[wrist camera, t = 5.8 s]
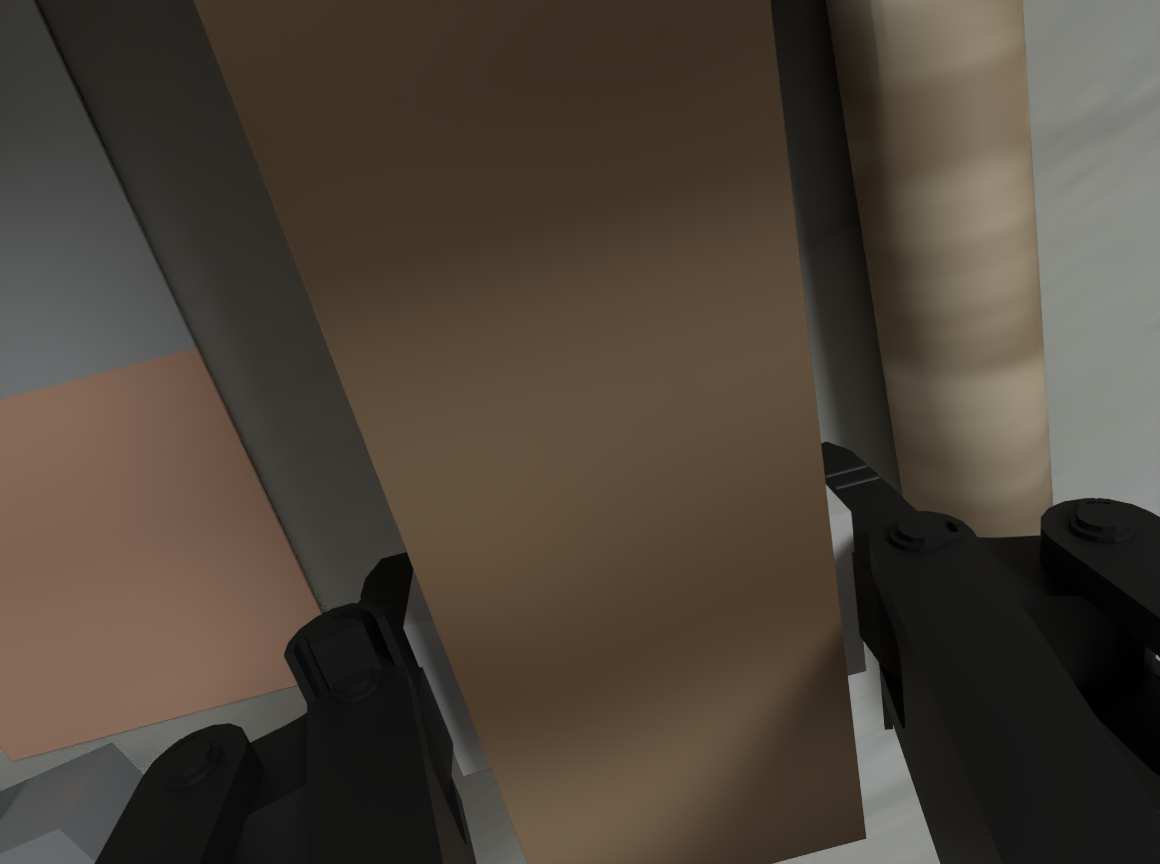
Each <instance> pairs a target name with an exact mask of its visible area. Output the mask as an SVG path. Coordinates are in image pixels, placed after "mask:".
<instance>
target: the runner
mask: <svg viewBox="0 0 1160 864" xmlns="http://www.w3.org/2000/svg"><path fill="white" fill-rule="evenodd" d="M321 614H323V613H322V611H321V609H320V607H319V605H318V602H317V600H316V598H315V596H314V594H313V592H312V590H311V588H310V585H309V583H308V581H307V579H306V577H305V575H304V573H303V570H302V568H301V566H300V564H299V562H298V560H297V558H296V556H295V553H294V551H293V549H292V547H291V545H290V543H289V541H288V538H287V536H286V534H285V532H284V530H283V528H282V526H281V523H280V521H279V519H278V517H277V515H276V513H275V511H274V509H273V506H272V504H271V502H270V500H269V498H268V496H267V494H266V491H265V489H264V487H263V485H262V483H261V481H260V479H259V477H258V474H257V472H256V470H255V468H254V466H253V464H252V462H251V459H250V457H249V455H248V453H247V451H246V449H245V447H244V444H243V442H242V440H241V438H240V436H239V434H238V432H237V430H236V427H235V425H234V423H233V421H232V419H231V417H230V415H229V412H228V410H227V408H226V406H225V404H224V402H223V400H222V398H221V395H220V393H219V391H218V389H217V387H216V385H215V383H214V380H213V378H212V376H211V374H210V372H209V370H208V368H207V366H206V363H205V361H204V359H203V357H202V355H201V353H200V351H199V348H198V346H197V344H196V342H195V340H194V338H193V336H192V333H191V331H190V329H189V327H188V325H187V323H186V321H185V319H184V316H183V314H182V312H181V310H180V308H179V306H178V304H177V301H176V299H175V297H174V295H173V293H172V291H171V289H170V287H169V284H168V282H167V280H166V278H165V276H164V274H163V272H162V269H161V267H160V265H159V263H158V261H157V259H156V257H155V254H154V252H153V250H152V248H151V246H150V244H149V242H148V240H147V237H146V235H145V233H144V231H143V229H142V227H141V225H140V222H139V220H138V218H137V216H136V214H135V212H134V210H133V208H132V205H131V203H130V201H129V199H128V197H127V195H126V193H125V190H124V188H123V186H122V184H121V182H120V180H119V178H118V175H117V173H116V171H115V169H114V167H113V165H112V163H111V161H110V158H109V156H108V154H107V152H106V150H105V148H104V146H103V143H102V141H101V139H100V137H99V135H98V133H97V131H96V129H95V126H94V124H93V122H92V120H91V118H90V116H89V114H88V111H87V109H86V107H85V105H84V103H83V101H82V99H81V96H80V94H79V92H78V90H77V88H76V86H75V84H74V82H73V79H72V77H71V75H70V73H69V71H68V69H67V67H66V64H65V62H64V60H63V58H62V56H61V54H60V52H59V50H58V47H57V45H56V43H55V41H54V39H53V37H52V35H51V32H50V30H49V28H48V26H47V24H46V22H45V20H44V17H43V15H42V13H41V11H40V9H39V7H38V5H37V3H36V0H0V747H1V748H2V749H3V751H4V752H5V753H6V755H7V756H8V757H9V759H10V760H11V761H16V760H20V759H23V758H27V757H31V756H35V755H38V754H42V753H46V752H50V751H53V750H57V749H61V748H65V747H68V746H72V745H76V744H79V743H83V742H87V741H91V740H94V739H98V738H102V737H106V736H109V735H113V734H117V733H121V732H124V731H128V730H132V729H136V728H139V727H143V726H147V725H151V724H154V723H158V722H162V721H165V720H169V719H173V718H177V717H180V716H184V715H188V714H192V713H195V712H199V711H203V710H207V709H210V708H214V707H218V706H222V705H225V704H229V703H233V702H237V701H240V700H244V699H248V698H252V697H255V696H259V695H263V694H266V693H270V692H274V691H278V690H281V689H285V688H289V687H293V686H296V685H298V684H297V682H296V680H295V678H294V676H293V674H292V672H291V670H290V668H289V666H288V664H287V662H286V660H285V658H284V656H283V655H284V653H285V650H286V647H287V644H288V642H289V641H290V640H291V639H292V637H293V636H294V635H295V634H296V633H297V631H298V630H299V629H300V628H302V627H303V626H304V625H306V624H307V623H308V622H310V621H311V620H312V619H314V618H315V617H317V616H319V615H321Z"/></svg>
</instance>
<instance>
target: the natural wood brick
mask: <svg viewBox="0 0 1160 864" xmlns="http://www.w3.org/2000/svg"><path fill="white" fill-rule="evenodd" d="M194 3H195V6H196V8H197V11H198V13H199V16H200V18H201V21H202V24H203V26H204V29H205V31H206V34H207V37H208V39H209V42H210V44H211V47H212V49H213V52H214V55H215V57H216V60H217V62H218V65H219V68H220V70H221V73H222V75H223V78H224V80H225V83H226V86H227V88H228V91H229V93H230V96H231V99H232V101H233V104H234V106H235V109H236V111H237V114H238V117H239V119H240V122H241V124H242V127H243V130H244V132H245V135H246V137H247V140H248V142H249V145H250V148H251V150H252V153H253V155H254V158H255V161H256V163H257V166H258V168H259V171H260V174H261V176H262V179H263V181H264V184H265V186H266V189H267V192H268V194H269V197H270V199H271V202H272V205H273V207H274V210H275V212H276V215H277V217H278V220H279V223H280V225H281V228H282V230H283V233H284V236H285V238H286V241H287V243H288V246H289V248H290V251H291V254H292V256H293V259H294V261H295V264H296V267H297V269H298V272H299V274H300V277H301V279H302V282H303V285H304V287H305V290H306V292H307V295H308V298H309V300H310V303H311V305H312V308H313V310H314V313H315V316H316V318H317V321H318V323H319V326H320V329H321V331H322V334H323V336H324V339H325V341H326V344H327V347H328V349H329V352H330V354H331V357H332V360H333V362H334V365H335V367H336V370H337V372H338V375H339V378H340V380H341V383H342V385H343V388H344V391H345V393H346V396H347V398H348V401H349V403H350V406H351V409H352V411H353V414H354V416H355V419H356V422H357V424H358V427H359V429H360V432H361V435H362V437H363V440H364V442H365V445H366V447H367V450H368V453H369V455H370V458H371V460H372V463H373V466H374V468H375V471H376V473H377V476H378V478H379V481H380V484H381V486H382V489H383V491H384V494H385V497H386V499H387V502H388V504H389V507H390V509H391V512H392V515H393V517H394V520H395V522H396V525H397V528H398V530H399V533H400V535H401V538H402V540H403V543H404V546H405V548H406V551H407V553H408V556H409V559H410V561H411V564H412V566H413V569H414V571H415V574H416V577H417V579H418V582H419V584H420V587H421V590H422V592H423V595H424V597H425V600H426V602H427V605H428V608H429V610H430V613H431V615H432V618H433V621H434V623H435V626H436V628H437V631H438V633H439V636H440V639H441V641H442V644H443V646H444V649H445V652H446V654H447V657H448V659H449V662H450V665H451V667H452V670H453V672H454V675H455V677H456V680H457V683H458V685H459V688H460V690H461V693H462V696H463V698H464V701H465V703H466V706H467V708H468V711H469V714H470V716H471V719H472V721H473V724H474V727H475V729H476V732H477V734H478V737H479V739H480V742H481V745H482V747H483V750H484V752H485V755H486V758H487V760H488V763H489V765H490V768H491V770H492V773H493V776H494V778H495V781H496V783H497V786H498V789H499V791H500V794H501V796H502V799H503V801H504V804H505V807H506V809H507V812H508V814H509V817H510V820H511V822H512V825H513V827H514V830H515V832H516V835H517V838H518V840H519V843H520V845H521V848H522V851H523V853H524V856H525V858H526V861H527V863H528V864H772V863H776V862H780V861H783V860H787V859H791V858H795V857H798V856H802V855H806V854H810V853H813V852H817V851H821V850H825V849H828V848H832V847H836V846H840V845H843V844H847V843H851V842H855V841H858V840H862V839H866V832H865V824H864V815H863V806H862V797H861V789H860V780H859V771H858V763H857V754H856V745H855V736H854V728H853V719H852V710H851V701H850V693H849V684H848V675H847V666H846V658H845V649H844V640H843V631H842V623H841V614H840V605H839V596H838V588H837V579H836V570H835V561H834V553H833V544H832V535H831V526H830V518H829V509H828V500H827V491H826V483H825V474H824V465H823V456H822V448H821V439H820V430H819V421H818V413H817V404H816V395H815V386H814V378H813V369H812V360H811V352H810V343H809V334H808V325H807V317H806V308H805V299H804V290H803V282H802V273H801V264H800V255H799V247H798V238H797V229H796V220H795V212H794V203H793V194H792V185H791V177H790V168H789V159H788V150H787V142H786V133H785V124H784V115H783V107H782V98H781V89H780V80H779V72H778V63H777V54H776V45H775V37H774V28H773V19H772V10H771V2H770V0H194Z"/></svg>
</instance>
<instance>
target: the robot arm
mask: <svg viewBox="0 0 1160 864" xmlns="http://www.w3.org/2000/svg"><path fill="white" fill-rule="evenodd" d="M821 448H822V456H823V465H824V474H825V483H826V491H827V500H828V509H829V518H830V526H831V535H832V544H833V553H834V561H835V570H836V579H837V588H838V596H839V605H840V614H841V623H842V631H843V640H844V649H845V658H846V666H847V675H852V674H856V673H860V672H864V671H866V666H865V655H864V644H863V641H864V642H865V643H866V645H867V646H868V648H869V649H870V650H871V652H872V653H873V655H874V656H875V657H876V659H877V660H878V662H879V666H880V678H881V690H882V702H883V714H884V726H885V730H886V729H893V725H894V728H895V731H896V734H897V737H898V740H899V743H900V746H901V749H902V752H903V755H904V758H905V761H906V763H907V766H908V769H909V772H910V775H911V778H912V781H913V784H914V787H915V790H916V793H917V796H918V799H919V802H920V805H921V808H922V811H923V814H924V817H925V820H926V823H927V826H928V829H929V832H930V834H931V837H932V840H933V843H934V846H935V849H936V852H937V855H938V858H939V861H940V864H1160V813H1159V812H1160V661H1159V660H1158V659H1156V655H1158V656H1159V657H1160V517H1159V516H1157V515H1155V514H1154V513H1152V512H1150V511H1147V510H1145V509H1142V508H1140V507H1138V506H1135V505H1133V504H1129V503H1124V502H1119V501H1114V500H1111V499H1102V498H1098V499H1095V498H1084V499H1077V500H1071V501H1064V502H1062V503H1059V504H1057V505H1055V506H1052V507H1050V508H1048V509H1047V511H1046V512H1045V513H1044V514H1043V515H1042V516H1041V526H1040V535H1035V536H1016V537H998V538H997V537H977V536H976V534H975V533H974V531H973V530H972V529H971V528H970V527H969V526H968V525H966V524H965V523H964V522H963V521H961V520H959V519H957V518H954V517H952V516H950V515H947V514H943V513H937V512H931V511H917V510H916V509H915V508H914V507H913V506H911V505H910V504H909V503H908V502H907V501H906V500H905V499H904V498H903V497H902V496H900V495H899V494H898V493H897V492H896V491H895V490H894V489H893V488H892V487H891V486H889V485H888V484H887V483H886V482H885V481H884V480H883V479H882V478H880V479H879V477H878V475H877V474H876V473H875V472H874V471H873V470H872V469H871V468H870V467H867V466H866V464H865V463H864V462H863V461H862V460H861V459H860V458H859V457H858V456H856V455H855V454H854V453H853V452H852V451H851V450H848V449H845V448H842V447H840V446H837V445H834V444H832V443H829V442H824V443H821ZM283 656H284V658H285V660H286V662H287V664H288V666H289V668H290V670H291V672H292V674H293V676H294V678H295V680H296V682H297V684H298V686H299V688H300V690H301V692H302V694H303V696H304V698H305V700H306V702H307V713H305V714H304V715H303V716H301V717H300V718H298V719H296V720H294V721H293V722H291V723H289V724H287V725H285V726H283V727H281V728H279V729H277V730H275V731H273V732H271V733H269V734H267V735H265V736H263V737H261V738H259V739H257V740H255V741H253V742H251V743H250V742H249V740H248V738H247V736H246V734H245V733H244V731H243V729H242V728H241V727H238V726H236V725H233V724H230V723H229V724H219V725H211V726H209V727H206V728H204V729H201V730H198V731H196V732H193V733H191V734H189V735H187V736H185V737H184V738H183V739H180V740H179V741H177V742H176V743H174V744H173V745H172V746H170V747H169V748H168V749H167V750H166V751H165V752H164V753H163V754H161V755H160V756H159V757H158V758H157V759H156V760H155V761H154V762H153V763H152V764H151V766H150V767H149V769H148V770H147V771H146V773H145V774H144V775H143V777H142V778H141V780H140V782H139V783H138V785H137V787H136V789H135V791H134V792H133V794H132V796H131V798H130V800H129V802H128V803H127V805H126V807H125V809H124V811H123V812H122V814H121V816H120V818H119V820H118V822H117V823H116V825H115V827H114V829H113V831H112V832H111V834H110V836H109V838H108V840H107V842H106V843H105V845H104V847H103V849H102V851H101V853H100V854H99V856H98V858H97V860H96V862H95V863H94V864H476V859H475V855H474V851H473V847H472V843H471V839H470V834H469V830H468V826H467V822H466V818H465V814H464V809H463V805H462V801H461V798H460V796H459V793H458V791H457V788H456V786H455V784H454V781H453V779H452V776H451V773H452V758H453V752H454V754H455V757H456V759H457V762H458V764H459V767H460V769H461V771H462V774H463V776H465V775H469V774H473V773H477V772H480V771H484V770H488V769H491V768H490V765H489V763H488V760H487V758H486V755H485V752H484V750H483V747H482V745H481V742H480V739H479V737H478V734H477V732H476V729H475V727H474V724H473V721H472V719H471V716H470V714H469V711H468V708H467V706H466V703H465V701H464V698H463V696H462V693H461V690H460V688H459V685H458V683H457V680H456V677H455V675H454V672H453V670H452V667H451V665H450V662H449V659H448V657H447V654H446V652H445V649H444V646H443V644H442V641H441V639H440V636H439V633H438V631H437V628H436V626H435V623H434V621H433V618H432V615H431V613H430V610H429V608H428V605H427V602H426V600H425V597H424V595H423V592H422V590H421V587H420V584H419V582H418V579H417V577H416V574H415V571H414V569H413V566H412V564H411V561H410V559H409V556H408V553H407V552H406V553H402V554H398V555H394V556H390V557H386V558H382V559H381V560H380V561H379V563H378V564H377V565H376V566H375V567H374V569H373V570H372V571H371V572H370V573H369V575H368V576H367V577H366V579H365V582H364V586H363V589H362V593H361V600H360V601H359V603H351V604H348V605H344V606H340V607H337V608H333V609H331V610H329V611H327V612H325V613H323V614H321V615H319V616H317V617H315V618H314V619H312V620H311V621H310V622H308V623H307V624H306V625H304V626H303V627H302V628H300V629H299V630H298V631H297V633H296V634H295V635H294V636H293V637H292V639H291V640H290V641H289V642H288V644H287V647H286V650H285V653H284V655H283Z"/></svg>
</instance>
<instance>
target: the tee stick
mask: <svg viewBox="0 0 1160 864" xmlns="http://www.w3.org/2000/svg"><path fill="white" fill-rule="evenodd" d="M142 777H143V774H142V773H141V772H140V771H139V770H138V769H137V768H136V767H135V766H134V765H133V764H132V763H131V761H130V760H129V759H128V758H127V757H126V756H125V755H124V754H123V753H122V752H121V751H120V750H119V749H118V748H117V747H116V746H115V745H114V744H113V743H110V744H108V745H105V746H103V747H101V748H99V749H96V750H94V751H92V752H89V753H87V754H85V755H83V756H80V757H78V758H76V759H73V760H71V761H69V762H67V763H64V764H62V765H60V766H57V767H55V768H53V769H51V770H48V771H46V772H44V773H41V774H39V775H37V776H35V777H32V778H30V779H28V780H25V781H23V782H21V783H19V784H16V785H14V786H12V787H9V788H7V789H5V790H3V791H0V864H94V863H95V862H96V860H97V858H98V856H99V854H100V853H101V851H102V849H103V847H104V845H105V843H106V842H107V840H108V838H109V836H110V834H111V832H112V831H113V829H114V827H115V825H116V823H117V822H118V820H119V818H120V816H121V814H122V812H123V811H124V809H125V807H126V805H127V803H128V802H129V800H130V798H131V796H132V794H133V792H134V791H135V789H136V787H137V785H138V783H139V782H140V780H141V778H142Z"/></svg>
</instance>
